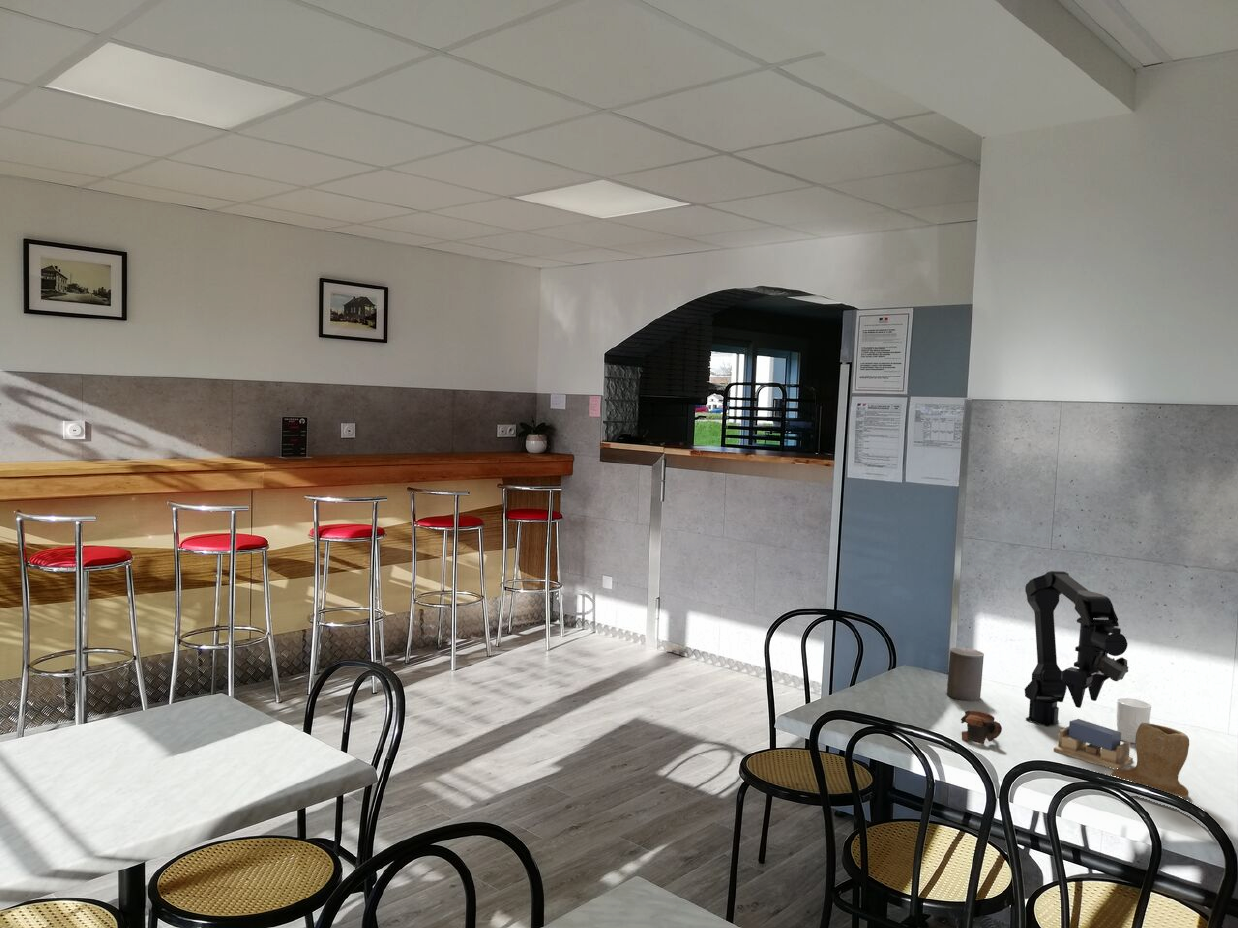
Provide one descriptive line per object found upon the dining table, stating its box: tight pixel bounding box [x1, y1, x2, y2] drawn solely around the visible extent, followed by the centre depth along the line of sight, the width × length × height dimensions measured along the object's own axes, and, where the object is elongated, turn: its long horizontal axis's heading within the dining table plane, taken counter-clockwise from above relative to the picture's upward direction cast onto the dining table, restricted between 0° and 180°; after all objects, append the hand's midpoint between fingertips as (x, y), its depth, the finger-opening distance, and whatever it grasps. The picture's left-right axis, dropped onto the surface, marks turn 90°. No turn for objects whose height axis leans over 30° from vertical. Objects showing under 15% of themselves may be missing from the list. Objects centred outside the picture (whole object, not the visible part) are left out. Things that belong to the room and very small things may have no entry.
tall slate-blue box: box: [1068, 718, 1122, 751], centre depth 231 cm, size 11×4×4 cm, turn 33°
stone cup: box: [1110, 722, 1190, 799], centre depth 211 cm, size 15×12×15 cm
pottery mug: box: [960, 710, 1003, 745], centre depth 240 cm, size 12×10×8 cm
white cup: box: [1116, 697, 1152, 745], centre depth 245 cm, size 8×8×10 cm
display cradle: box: [1053, 726, 1134, 770], centre depth 231 cm, size 10×15×5 cm, turn 41°
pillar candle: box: [945, 646, 985, 702], centre depth 277 cm, size 10×10×15 cm
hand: (1085, 703), depth 237 cm, fingers open, 9 cm apart
